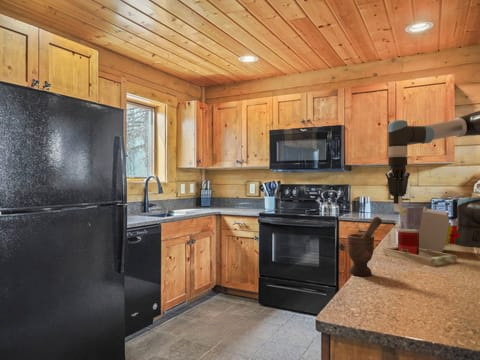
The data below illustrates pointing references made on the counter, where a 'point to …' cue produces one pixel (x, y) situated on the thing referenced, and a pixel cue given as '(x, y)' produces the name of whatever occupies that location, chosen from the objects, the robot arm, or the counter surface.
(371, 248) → the mortar and pestle
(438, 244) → the electrical switch box
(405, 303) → the counter surface
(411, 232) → the canned food
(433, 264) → the slot frame
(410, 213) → the cake pan box
